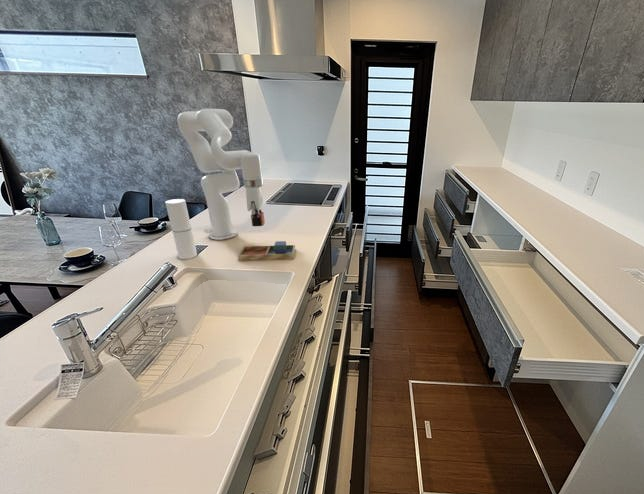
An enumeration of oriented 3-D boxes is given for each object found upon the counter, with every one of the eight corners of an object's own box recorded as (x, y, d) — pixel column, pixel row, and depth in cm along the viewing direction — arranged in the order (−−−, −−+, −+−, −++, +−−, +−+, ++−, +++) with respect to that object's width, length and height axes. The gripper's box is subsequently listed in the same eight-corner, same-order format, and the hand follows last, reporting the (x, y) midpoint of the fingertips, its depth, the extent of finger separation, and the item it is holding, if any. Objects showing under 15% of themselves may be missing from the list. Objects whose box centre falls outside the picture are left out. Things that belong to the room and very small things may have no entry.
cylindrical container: (178, 260, 131) (164, 204, 121) (179, 253, 137) (165, 199, 127) (197, 257, 134) (184, 202, 124) (197, 251, 140) (185, 198, 130)
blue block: (275, 255, 136) (274, 245, 134) (276, 251, 140) (275, 241, 138) (285, 255, 137) (284, 245, 135) (286, 251, 141) (285, 241, 139)
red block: (252, 226, 132) (250, 215, 130) (254, 222, 136) (253, 212, 134) (262, 226, 133) (261, 215, 131) (264, 222, 137) (263, 212, 135)
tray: (238, 260, 132) (237, 255, 131) (244, 251, 141) (243, 246, 140) (293, 259, 135) (292, 253, 134) (295, 249, 144) (294, 244, 143)
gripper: (248, 179, 134) (253, 218, 142) (238, 187, 119) (245, 230, 126) (265, 179, 136) (270, 218, 143) (258, 187, 120) (263, 230, 127)
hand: (258, 223), depth 134 cm, fingers closed on red block, 4 cm apart
